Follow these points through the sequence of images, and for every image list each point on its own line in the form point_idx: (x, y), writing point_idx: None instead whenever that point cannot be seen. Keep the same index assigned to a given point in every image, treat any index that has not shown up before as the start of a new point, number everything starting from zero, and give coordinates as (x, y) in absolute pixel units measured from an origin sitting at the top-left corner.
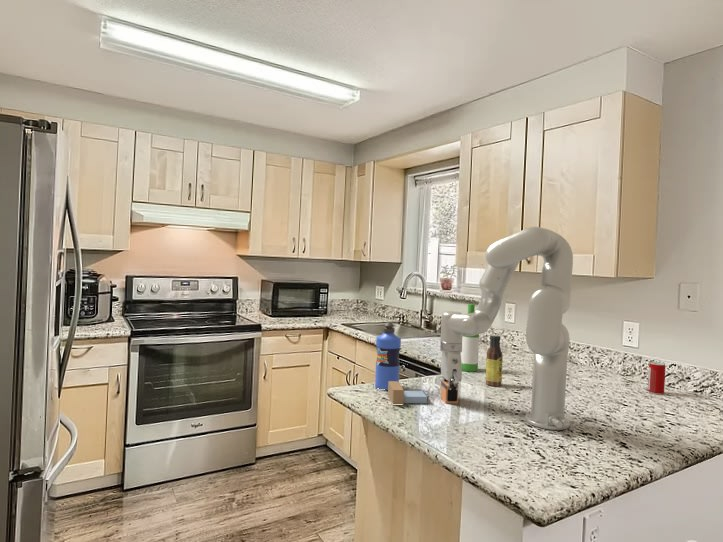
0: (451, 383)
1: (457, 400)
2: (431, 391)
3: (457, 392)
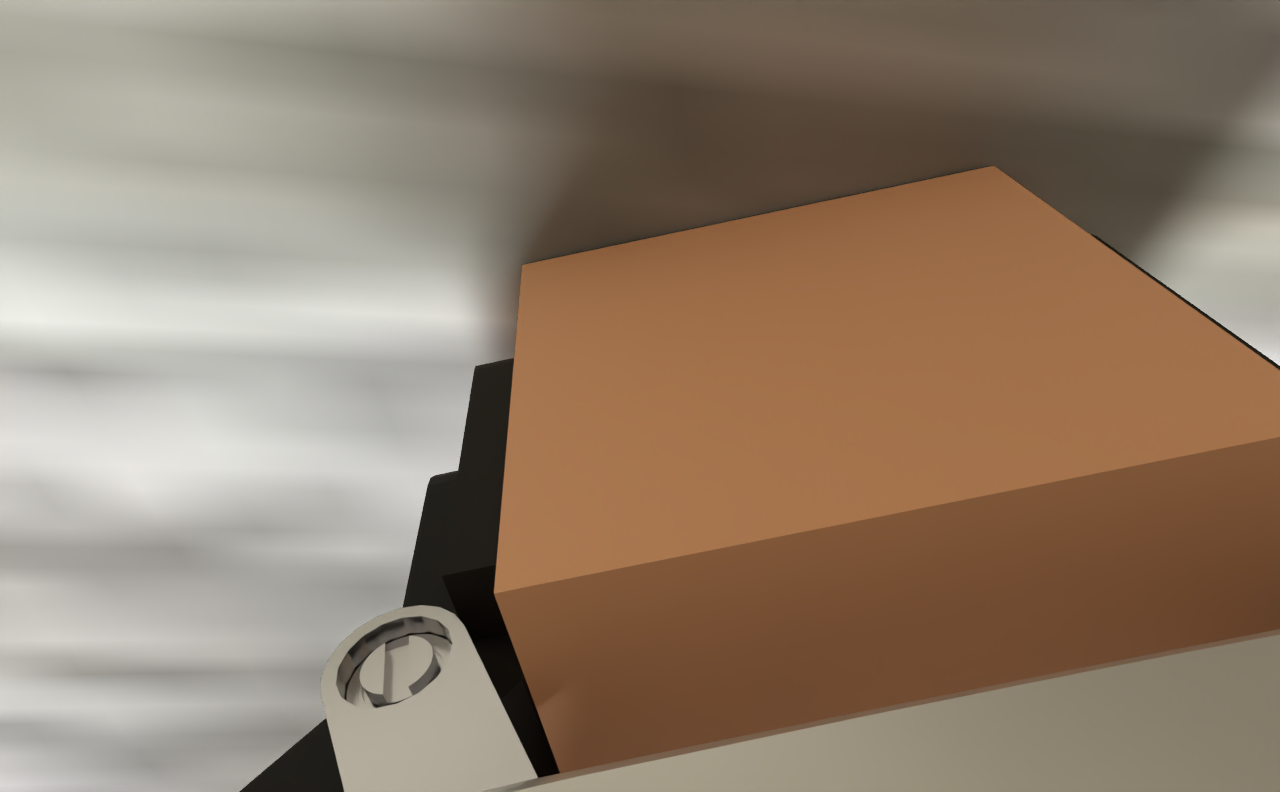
0: (886, 664)
1: (1026, 204)
2: (111, 688)
3: (1163, 316)
